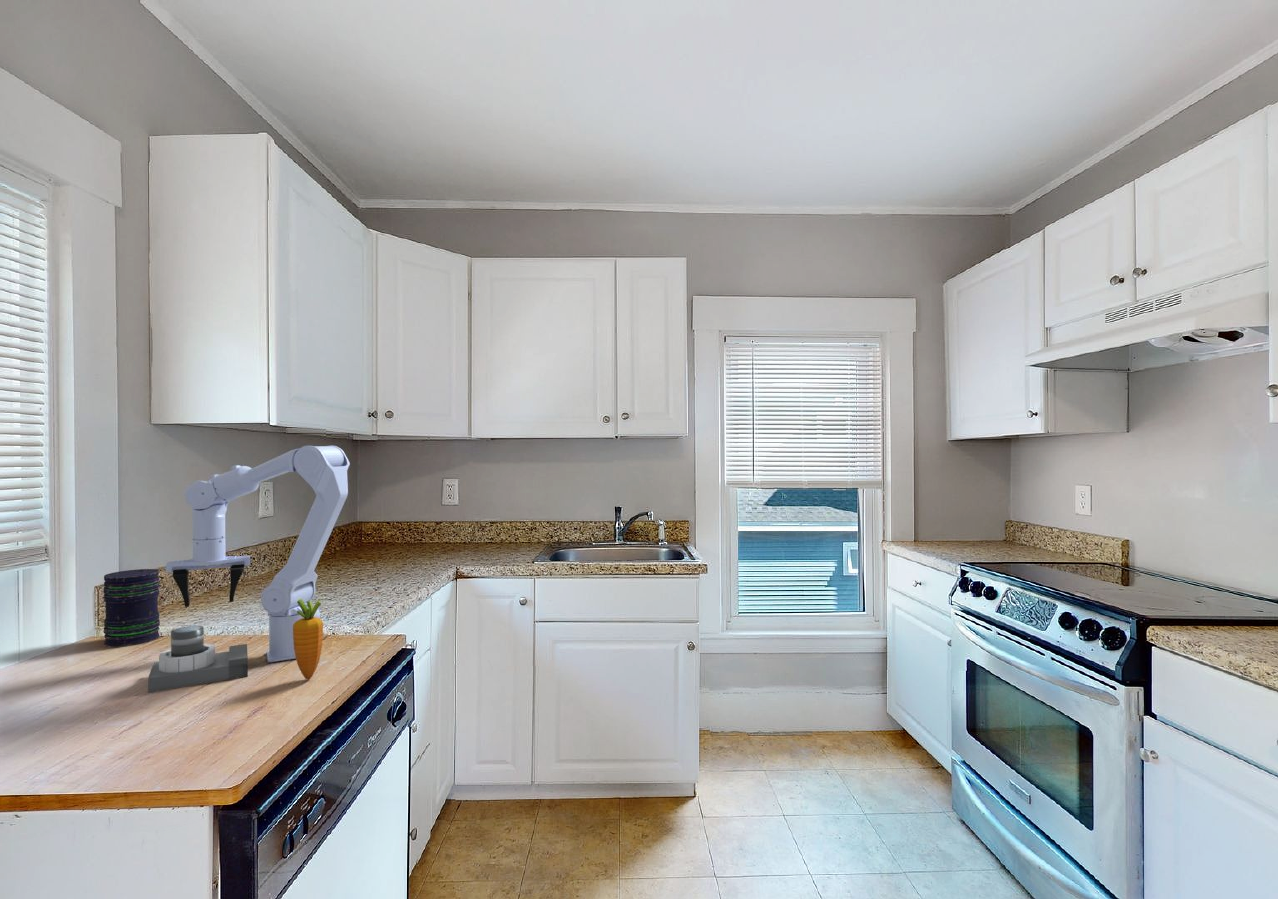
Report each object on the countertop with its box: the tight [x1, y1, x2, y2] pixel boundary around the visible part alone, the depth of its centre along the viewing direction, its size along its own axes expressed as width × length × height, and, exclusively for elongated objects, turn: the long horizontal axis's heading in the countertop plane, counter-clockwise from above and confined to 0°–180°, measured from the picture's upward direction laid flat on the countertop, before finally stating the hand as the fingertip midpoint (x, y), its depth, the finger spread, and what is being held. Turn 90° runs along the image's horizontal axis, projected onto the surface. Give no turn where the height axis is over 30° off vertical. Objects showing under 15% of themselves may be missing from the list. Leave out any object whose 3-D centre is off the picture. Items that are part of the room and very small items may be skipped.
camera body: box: [147, 643, 249, 693], centre depth 122 cm, size 15×10×5 cm, turn 122°
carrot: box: [293, 599, 324, 681], centre depth 120 cm, size 5×5×15 cm
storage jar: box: [102, 568, 161, 648], centre depth 144 cm, size 10×10×15 cm
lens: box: [170, 625, 205, 657], centre depth 121 cm, size 5×5×7 cm
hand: (209, 603), depth 135 cm, fingers open, 7 cm apart
